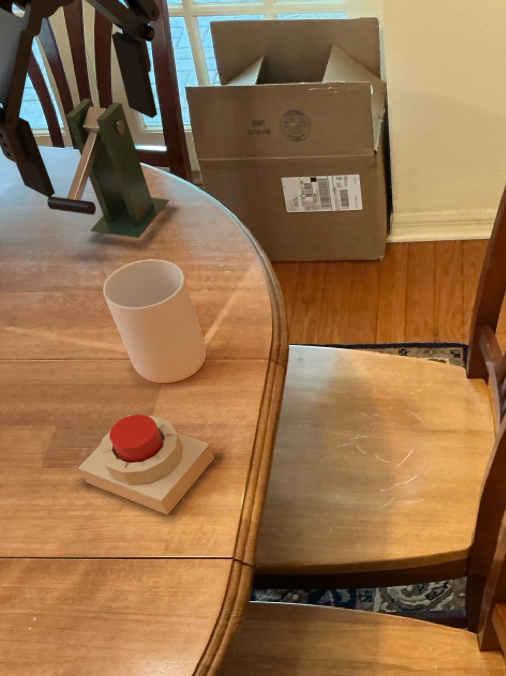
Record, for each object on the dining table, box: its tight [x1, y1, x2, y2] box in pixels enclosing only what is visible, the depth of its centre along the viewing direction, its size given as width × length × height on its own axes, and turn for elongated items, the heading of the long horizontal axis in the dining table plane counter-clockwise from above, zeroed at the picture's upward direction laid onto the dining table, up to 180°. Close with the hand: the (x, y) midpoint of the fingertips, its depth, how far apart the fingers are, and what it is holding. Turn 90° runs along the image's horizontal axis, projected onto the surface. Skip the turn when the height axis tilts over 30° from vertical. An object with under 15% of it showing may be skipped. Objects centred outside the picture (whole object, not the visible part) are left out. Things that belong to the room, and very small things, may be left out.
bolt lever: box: [47, 106, 107, 216], centre depth 92 cm, size 13×6×2 cm, turn 164°
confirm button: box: [109, 414, 163, 463], centre depth 73 cm, size 4×4×2 cm
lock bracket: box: [65, 98, 170, 239], centre depth 97 cm, size 9×7×15 cm
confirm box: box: [78, 414, 215, 516], centre depth 75 cm, size 10×8×4 cm
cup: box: [102, 258, 207, 384], centre depth 84 cm, size 8×12×10 cm
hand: (94, 148), depth 69 cm, fingers open, 13 cm apart
